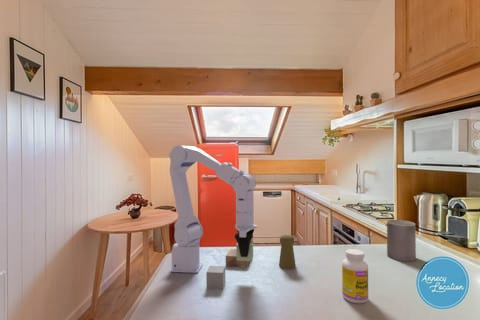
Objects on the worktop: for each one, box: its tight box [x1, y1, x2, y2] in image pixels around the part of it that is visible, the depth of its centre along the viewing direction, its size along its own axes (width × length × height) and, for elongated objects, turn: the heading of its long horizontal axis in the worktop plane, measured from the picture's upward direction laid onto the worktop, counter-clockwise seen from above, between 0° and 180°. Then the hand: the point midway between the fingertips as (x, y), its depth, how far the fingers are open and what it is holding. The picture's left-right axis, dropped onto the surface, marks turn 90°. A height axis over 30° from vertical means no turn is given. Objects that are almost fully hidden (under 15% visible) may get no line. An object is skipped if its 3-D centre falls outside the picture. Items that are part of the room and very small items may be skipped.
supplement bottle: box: [341, 248, 369, 304], centre depth 75 cm, size 7×7×13 cm
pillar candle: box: [386, 218, 417, 263], centre depth 106 cm, size 10×10×15 cm
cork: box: [278, 234, 297, 270], centre depth 99 cm, size 6×6×11 cm
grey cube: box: [205, 265, 226, 290], centre depth 84 cm, size 5×5×5 cm
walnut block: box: [225, 248, 251, 268], centre depth 103 cm, size 8×8×4 cm
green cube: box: [235, 239, 254, 262], centre depth 88 cm, size 5×5×5 cm
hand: (245, 253), depth 88 cm, fingers closed on green cube, 5 cm apart
